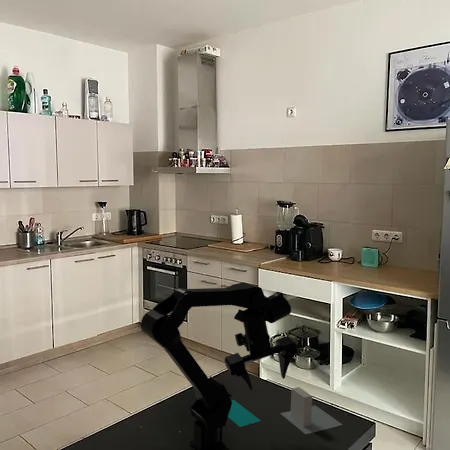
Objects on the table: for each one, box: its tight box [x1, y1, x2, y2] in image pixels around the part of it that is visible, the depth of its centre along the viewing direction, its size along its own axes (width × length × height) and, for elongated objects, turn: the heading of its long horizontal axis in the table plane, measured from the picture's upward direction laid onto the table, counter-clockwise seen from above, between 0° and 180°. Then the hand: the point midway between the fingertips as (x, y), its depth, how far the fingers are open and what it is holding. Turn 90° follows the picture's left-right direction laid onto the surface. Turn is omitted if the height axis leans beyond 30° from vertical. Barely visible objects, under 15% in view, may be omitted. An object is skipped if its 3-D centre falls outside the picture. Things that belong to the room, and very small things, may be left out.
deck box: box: [290, 386, 313, 427], centre depth 125 cm, size 3×6×8 cm, turn 26°
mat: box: [280, 405, 343, 435], centre depth 126 cm, size 12×12×1 cm
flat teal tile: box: [227, 398, 263, 429], centre depth 129 cm, size 7×1×15 cm
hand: (267, 383), depth 122 cm, fingers open, 9 cm apart
